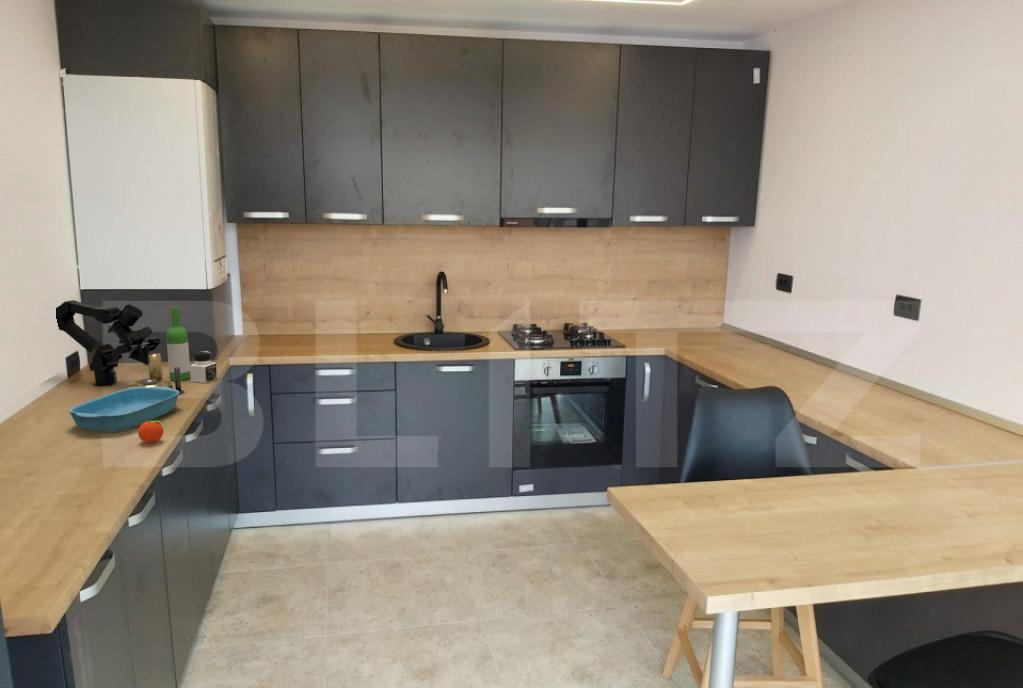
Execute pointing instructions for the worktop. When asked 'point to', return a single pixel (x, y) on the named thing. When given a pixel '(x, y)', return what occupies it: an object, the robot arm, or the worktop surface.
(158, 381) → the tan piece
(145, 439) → the tomato
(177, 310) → the wine bottle
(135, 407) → the casserole dish
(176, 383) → the stop post
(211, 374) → the medicine bottle
